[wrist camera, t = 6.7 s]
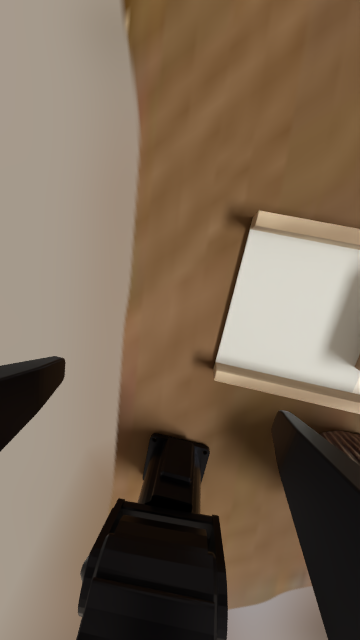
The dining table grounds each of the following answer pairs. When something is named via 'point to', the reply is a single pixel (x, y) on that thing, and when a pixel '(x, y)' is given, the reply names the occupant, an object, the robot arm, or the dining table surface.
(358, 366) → the paddle block
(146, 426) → the dining table surface
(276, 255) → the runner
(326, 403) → the lane rails
